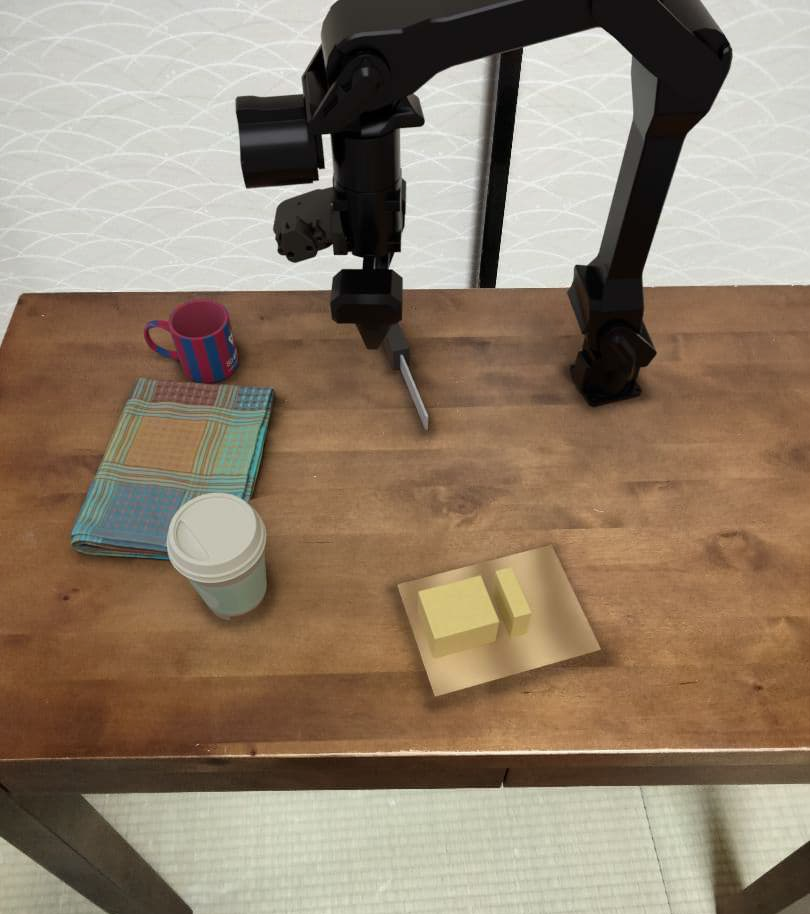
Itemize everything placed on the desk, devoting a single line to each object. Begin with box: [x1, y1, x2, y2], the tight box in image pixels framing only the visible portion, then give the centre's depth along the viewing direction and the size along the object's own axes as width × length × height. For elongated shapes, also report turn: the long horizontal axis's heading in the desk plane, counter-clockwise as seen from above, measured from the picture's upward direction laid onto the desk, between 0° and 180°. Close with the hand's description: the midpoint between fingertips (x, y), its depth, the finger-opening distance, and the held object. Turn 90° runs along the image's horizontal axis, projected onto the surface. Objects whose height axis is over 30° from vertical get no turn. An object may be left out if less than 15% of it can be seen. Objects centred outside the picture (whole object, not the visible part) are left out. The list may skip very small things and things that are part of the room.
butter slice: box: [492, 567, 531, 638], centre depth 75 cm, size 2×5×4 cm, turn 16°
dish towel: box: [69, 376, 277, 561], centre depth 87 cm, size 17×23×2 cm
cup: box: [143, 298, 240, 384], centre depth 94 cm, size 7×10×7 cm
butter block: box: [418, 575, 499, 658], centre depth 74 cm, size 6×5×4 cm
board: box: [396, 544, 602, 697], centre depth 77 cm, size 16×12×2 cm
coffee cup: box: [167, 493, 268, 622], centre depth 74 cm, size 8×9×12 cm
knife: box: [381, 322, 429, 431], centre depth 94 cm, size 2×17×3 cm, turn 17°
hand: (374, 316), depth 82 cm, fingers open, 9 cm apart
